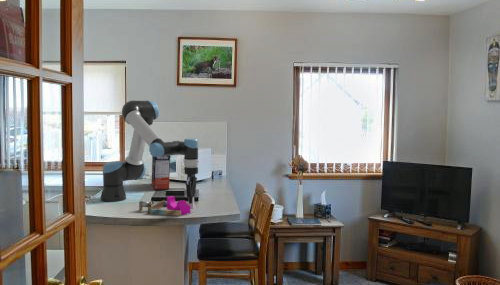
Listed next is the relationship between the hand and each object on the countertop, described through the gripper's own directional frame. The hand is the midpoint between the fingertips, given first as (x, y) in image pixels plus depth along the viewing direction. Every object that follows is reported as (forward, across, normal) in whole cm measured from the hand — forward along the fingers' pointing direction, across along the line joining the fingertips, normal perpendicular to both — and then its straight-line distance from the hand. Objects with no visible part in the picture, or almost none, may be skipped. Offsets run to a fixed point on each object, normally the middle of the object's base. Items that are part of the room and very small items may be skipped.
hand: (191, 208), depth 232 cm
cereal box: (+2, +63, +46) cm, 78 cm away
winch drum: (+2, -4, +26) cm, 26 cm away
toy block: (+2, -1, +7) cm, 8 cm away
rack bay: (+2, 0, +11) cm, 11 cm away
